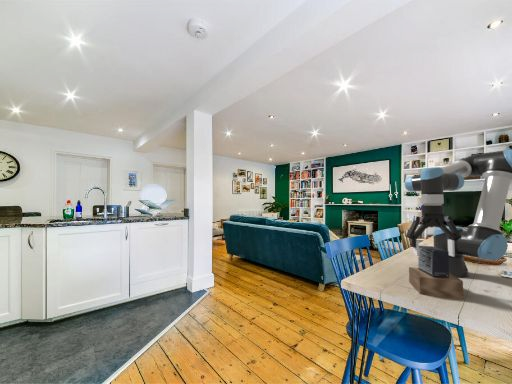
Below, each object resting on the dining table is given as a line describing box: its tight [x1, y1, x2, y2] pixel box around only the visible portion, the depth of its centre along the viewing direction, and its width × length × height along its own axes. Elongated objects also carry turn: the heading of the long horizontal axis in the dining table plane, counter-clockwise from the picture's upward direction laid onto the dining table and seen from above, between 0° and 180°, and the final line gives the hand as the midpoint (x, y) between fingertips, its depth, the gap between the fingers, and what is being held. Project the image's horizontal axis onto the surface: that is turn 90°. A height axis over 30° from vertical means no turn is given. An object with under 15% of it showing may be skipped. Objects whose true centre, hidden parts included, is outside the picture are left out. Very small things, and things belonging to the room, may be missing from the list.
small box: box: [417, 245, 449, 277], centre depth 97 cm, size 11×6×10 cm, turn 173°
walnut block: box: [408, 266, 464, 300], centre depth 97 cm, size 14×14×7 cm
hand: (433, 255), depth 97 cm, fingers open, 13 cm apart
